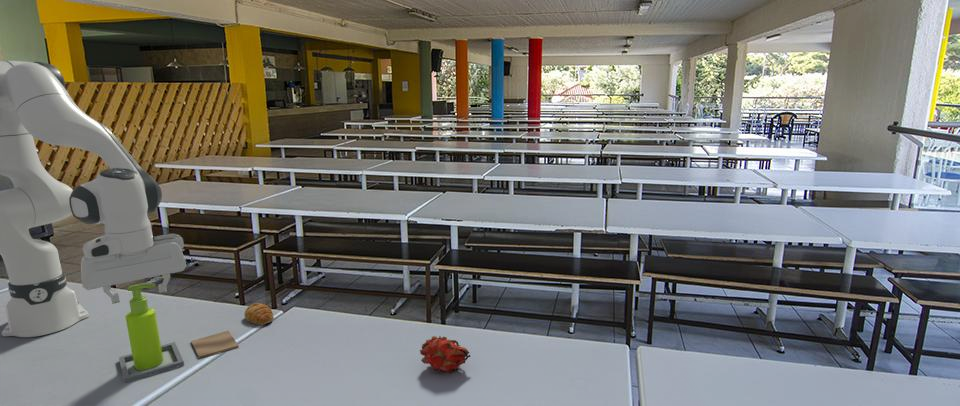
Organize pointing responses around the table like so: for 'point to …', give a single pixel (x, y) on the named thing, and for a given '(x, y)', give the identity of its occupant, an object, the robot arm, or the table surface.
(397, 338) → the table surface
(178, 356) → the slate frame
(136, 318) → the soap dispenser
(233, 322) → the table surface
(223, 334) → the walnut pad
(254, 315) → the pastry
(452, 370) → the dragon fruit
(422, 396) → the table surface
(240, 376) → the table surface
